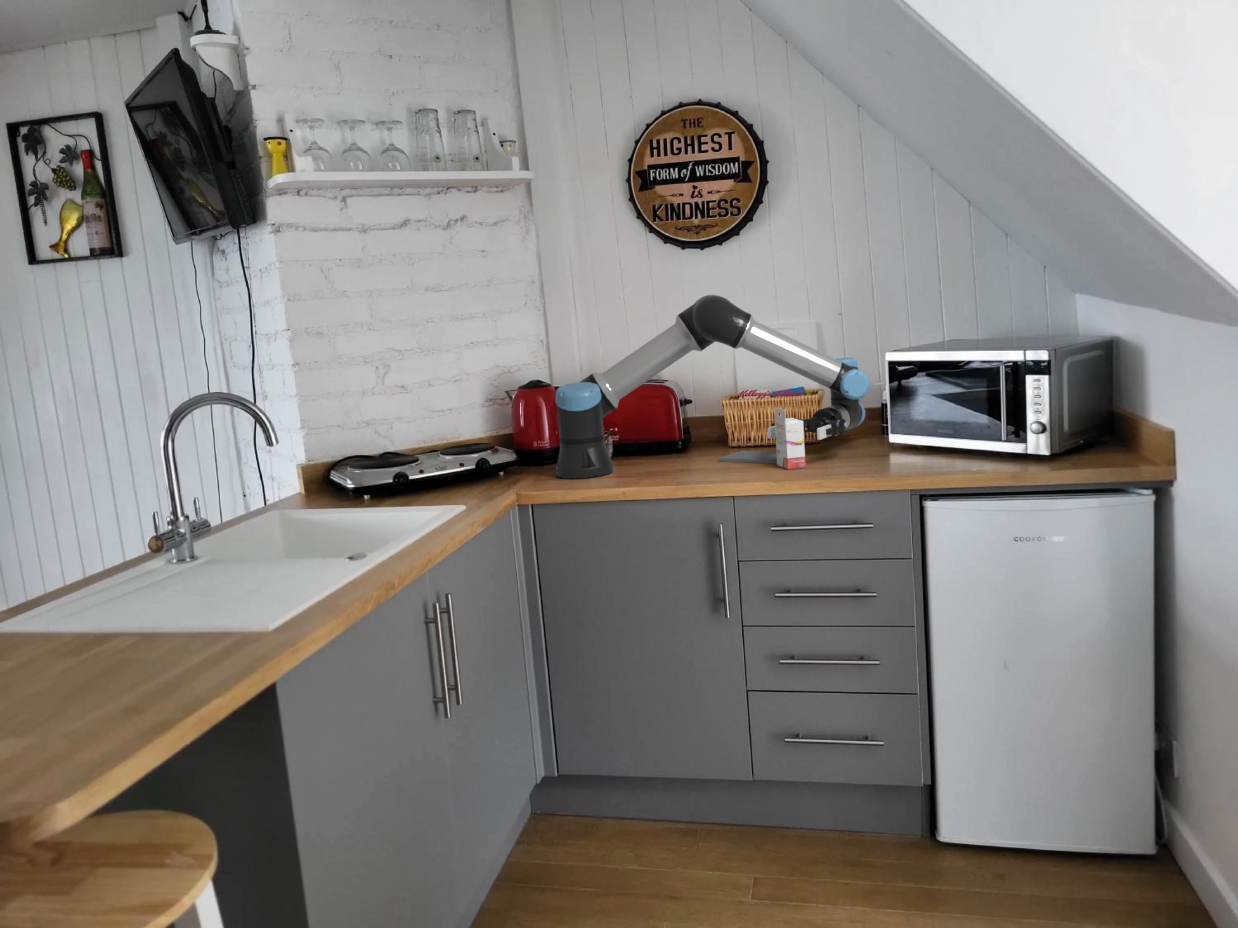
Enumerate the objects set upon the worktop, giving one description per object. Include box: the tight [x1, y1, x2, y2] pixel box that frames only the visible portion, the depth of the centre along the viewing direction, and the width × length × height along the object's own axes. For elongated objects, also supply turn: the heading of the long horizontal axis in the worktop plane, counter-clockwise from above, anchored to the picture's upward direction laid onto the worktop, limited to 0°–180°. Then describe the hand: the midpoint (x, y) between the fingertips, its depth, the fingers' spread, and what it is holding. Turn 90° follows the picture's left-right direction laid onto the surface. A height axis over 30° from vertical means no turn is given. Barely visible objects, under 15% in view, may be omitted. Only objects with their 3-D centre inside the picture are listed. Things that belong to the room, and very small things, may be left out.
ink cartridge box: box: [774, 407, 806, 470], centre depth 263 cm, size 9×5×15 cm, turn 10°
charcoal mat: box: [718, 450, 777, 464], centre depth 280 cm, size 18×12×1 cm, turn 54°
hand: (793, 433), depth 263 cm, fingers open, 13 cm apart
